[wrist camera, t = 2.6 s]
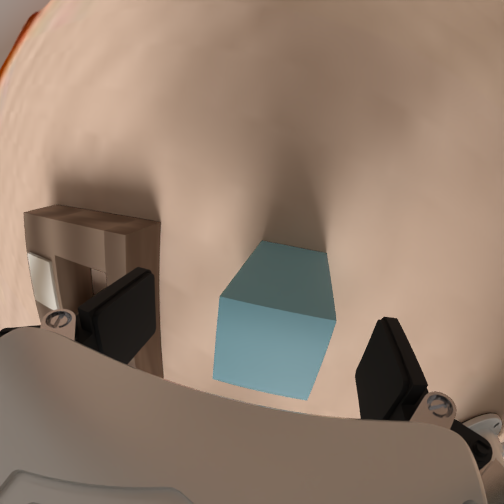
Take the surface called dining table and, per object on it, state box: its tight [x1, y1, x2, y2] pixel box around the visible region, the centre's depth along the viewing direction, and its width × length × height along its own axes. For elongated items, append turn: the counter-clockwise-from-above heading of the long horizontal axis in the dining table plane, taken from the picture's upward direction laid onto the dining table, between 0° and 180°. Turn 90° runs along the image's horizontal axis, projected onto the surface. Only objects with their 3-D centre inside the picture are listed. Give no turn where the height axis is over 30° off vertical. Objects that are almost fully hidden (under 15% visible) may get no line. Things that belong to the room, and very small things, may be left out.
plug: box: [213, 241, 336, 400], centre depth 13 cm, size 4×4×8 cm
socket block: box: [24, 205, 164, 379], centre depth 20 cm, size 12×22×4 cm, turn 172°
